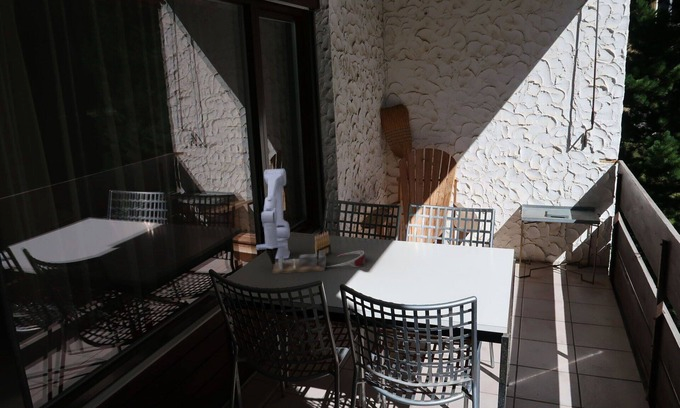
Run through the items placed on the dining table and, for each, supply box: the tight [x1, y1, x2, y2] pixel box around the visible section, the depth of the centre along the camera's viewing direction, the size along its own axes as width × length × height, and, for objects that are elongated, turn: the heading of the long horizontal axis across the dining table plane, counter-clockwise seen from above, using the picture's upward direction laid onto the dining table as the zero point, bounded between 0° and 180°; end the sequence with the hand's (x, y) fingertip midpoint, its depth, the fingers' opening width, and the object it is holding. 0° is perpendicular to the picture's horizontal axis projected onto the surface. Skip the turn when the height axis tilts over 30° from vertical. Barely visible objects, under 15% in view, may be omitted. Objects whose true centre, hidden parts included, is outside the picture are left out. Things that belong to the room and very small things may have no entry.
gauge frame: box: [272, 250, 327, 275], centre depth 260 cm, size 24×12×6 cm, turn 91°
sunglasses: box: [325, 250, 366, 268], centre depth 264 cm, size 17×17×5 cm
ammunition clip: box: [314, 230, 332, 260], centre depth 273 cm, size 11×2×12 cm, turn 142°
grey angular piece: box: [277, 255, 300, 270], centre depth 259 cm, size 10×9×4 cm
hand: (273, 263), depth 260 cm, fingers closed
